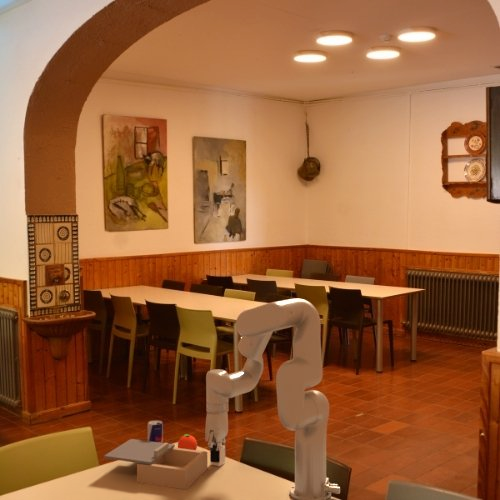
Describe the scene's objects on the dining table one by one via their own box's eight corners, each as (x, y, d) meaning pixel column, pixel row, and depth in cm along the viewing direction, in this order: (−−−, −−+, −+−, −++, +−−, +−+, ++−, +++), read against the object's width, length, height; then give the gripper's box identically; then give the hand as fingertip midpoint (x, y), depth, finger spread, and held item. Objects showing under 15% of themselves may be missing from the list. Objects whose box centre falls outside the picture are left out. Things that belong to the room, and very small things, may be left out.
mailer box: (207, 469, 219) (207, 451, 219) (185, 489, 203) (185, 470, 203) (162, 463, 225) (161, 445, 224) (137, 482, 209) (137, 463, 208)
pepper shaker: (209, 465, 223) (209, 437, 222) (215, 461, 226) (215, 434, 226) (220, 467, 221) (219, 439, 220) (225, 463, 224) (225, 435, 224)
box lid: (174, 446, 223) (174, 438, 222) (150, 464, 207) (150, 456, 207) (130, 441, 228) (130, 433, 228) (104, 458, 212) (104, 449, 212)
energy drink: (160, 458, 229) (159, 425, 228) (145, 457, 230) (145, 424, 229) (165, 453, 234) (164, 420, 233) (150, 452, 235) (150, 419, 234)
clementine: (174, 452, 235) (174, 432, 235) (192, 449, 238) (192, 429, 238) (181, 459, 228) (181, 439, 228) (200, 456, 231) (199, 436, 230)
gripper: (216, 399, 232) (217, 449, 233) (197, 412, 216) (197, 466, 217) (236, 400, 229) (236, 452, 230) (218, 414, 213) (218, 469, 214)
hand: (217, 458), depth 223 cm, fingers closed on pepper shaker, 4 cm apart
